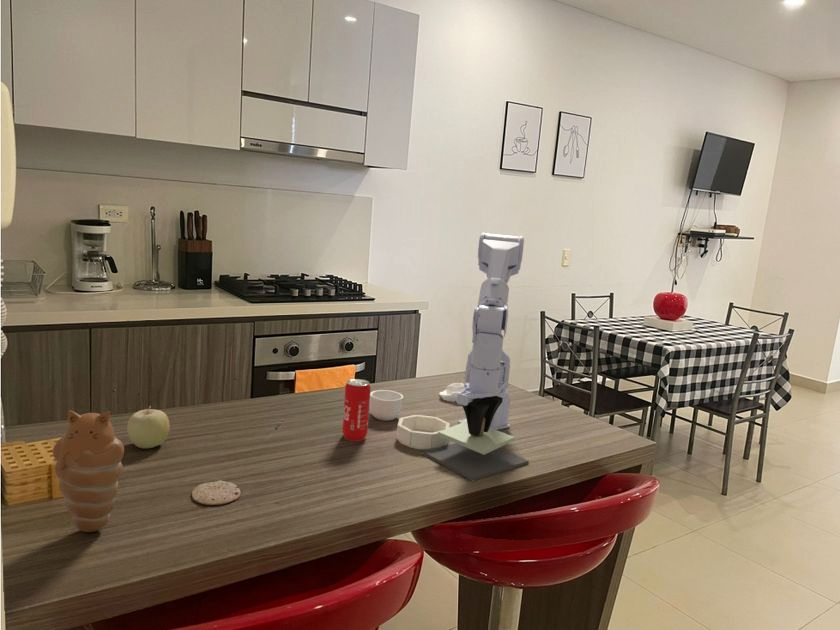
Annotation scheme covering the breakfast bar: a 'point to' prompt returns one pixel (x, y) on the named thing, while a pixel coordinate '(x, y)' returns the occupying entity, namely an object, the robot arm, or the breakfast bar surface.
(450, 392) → the white rounded piece
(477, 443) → the lid
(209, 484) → the flatbread
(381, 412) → the teacup
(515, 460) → the mat
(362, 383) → the beverage can
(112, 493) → the cat ice cream
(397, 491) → the breakfast bar surface
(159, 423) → the fruit
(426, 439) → the bowl
